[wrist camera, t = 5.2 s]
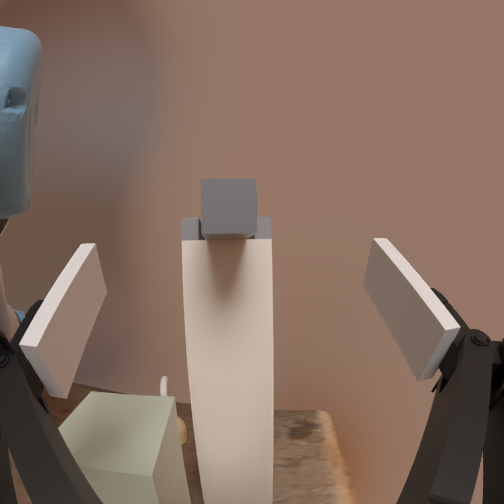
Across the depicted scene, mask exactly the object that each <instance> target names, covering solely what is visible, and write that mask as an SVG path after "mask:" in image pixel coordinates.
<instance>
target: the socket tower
mask: <svg viewBox="0 0 504 504" xmlns="http://www.w3.org/2000/svg"><path fill="white" fill-rule="evenodd" d="M271 242H272V240H271V217H257V234H255V235H253V236H251V237H249V238H248V239H232V240H206V238H205V237H204V236H203V235H202V233H201V221H200V220H199V218H182V267H183V294H184V315H185V334H186V349H187V363H188V375H189V387H190V397H191V408H192V417H193V426H194V435H195V443H196V451H197V459H198V466H199V473H200V480H201V487H202V493H203V499H204V504H273V290H272V243H271Z"/></svg>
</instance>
